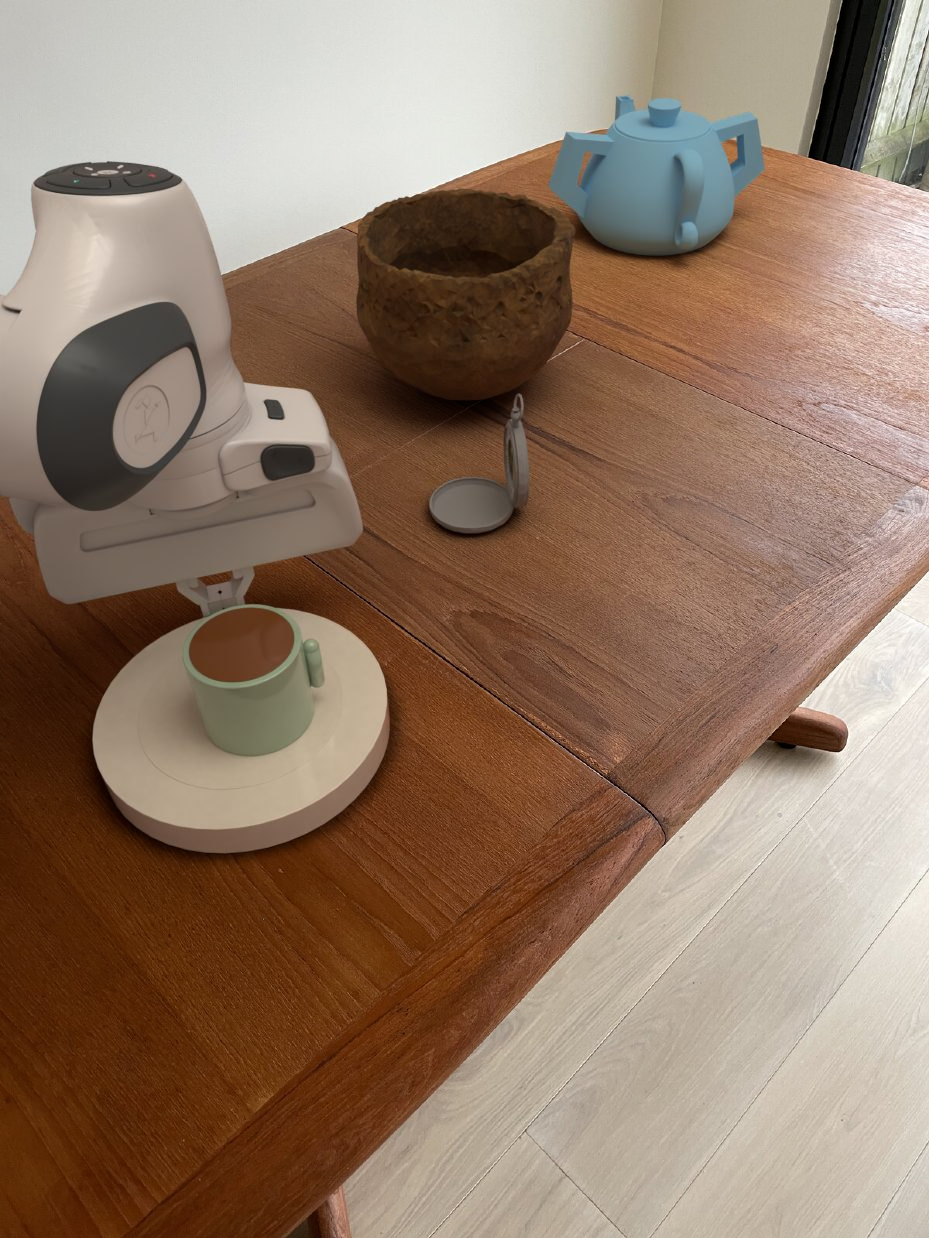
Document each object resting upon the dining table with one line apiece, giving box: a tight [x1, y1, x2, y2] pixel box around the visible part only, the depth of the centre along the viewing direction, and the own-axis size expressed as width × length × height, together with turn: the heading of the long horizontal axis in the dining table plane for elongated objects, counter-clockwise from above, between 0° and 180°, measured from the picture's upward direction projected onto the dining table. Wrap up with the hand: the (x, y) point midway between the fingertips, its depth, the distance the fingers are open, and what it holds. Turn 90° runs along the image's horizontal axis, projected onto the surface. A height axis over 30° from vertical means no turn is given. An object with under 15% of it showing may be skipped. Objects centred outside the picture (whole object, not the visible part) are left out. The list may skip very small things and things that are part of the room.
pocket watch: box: [428, 393, 531, 534], centre depth 77 cm, size 8×8×10 cm
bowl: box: [356, 188, 577, 401], centre depth 89 cm, size 19×19×15 cm
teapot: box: [547, 94, 766, 257], centre depth 113 cm, size 19×19×14 cm
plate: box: [91, 607, 391, 854], centre depth 63 cm, size 18×18×2 cm
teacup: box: [182, 603, 325, 756], centre depth 60 cm, size 8×7×6 cm
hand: (225, 610), depth 70 cm, fingers closed, pressing on plate
